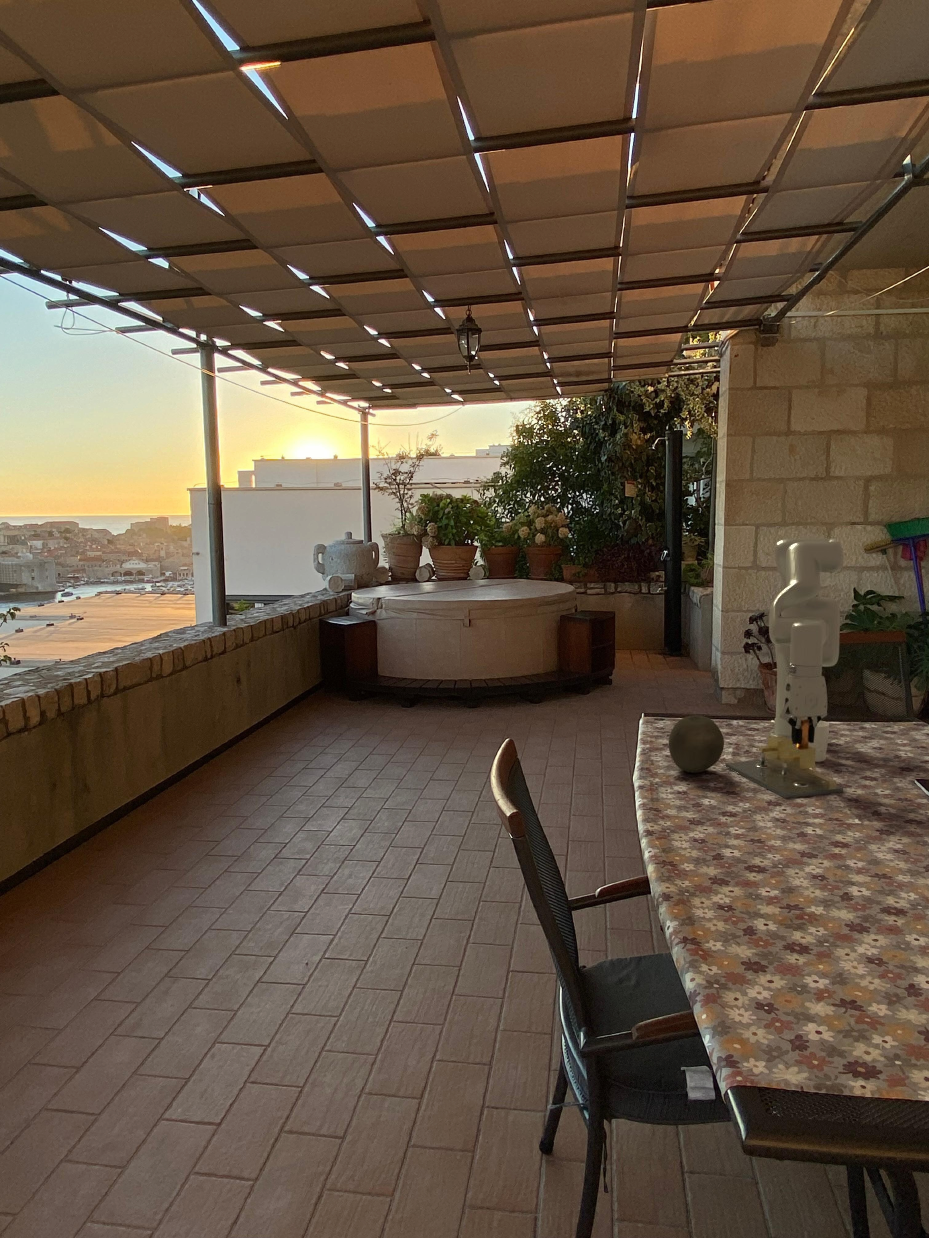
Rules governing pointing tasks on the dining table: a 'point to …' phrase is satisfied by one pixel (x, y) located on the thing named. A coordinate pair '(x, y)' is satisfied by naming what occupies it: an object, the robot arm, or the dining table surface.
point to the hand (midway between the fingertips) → (802, 741)
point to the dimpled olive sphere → (695, 743)
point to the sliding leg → (800, 751)
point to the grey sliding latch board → (771, 771)
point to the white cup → (820, 740)
